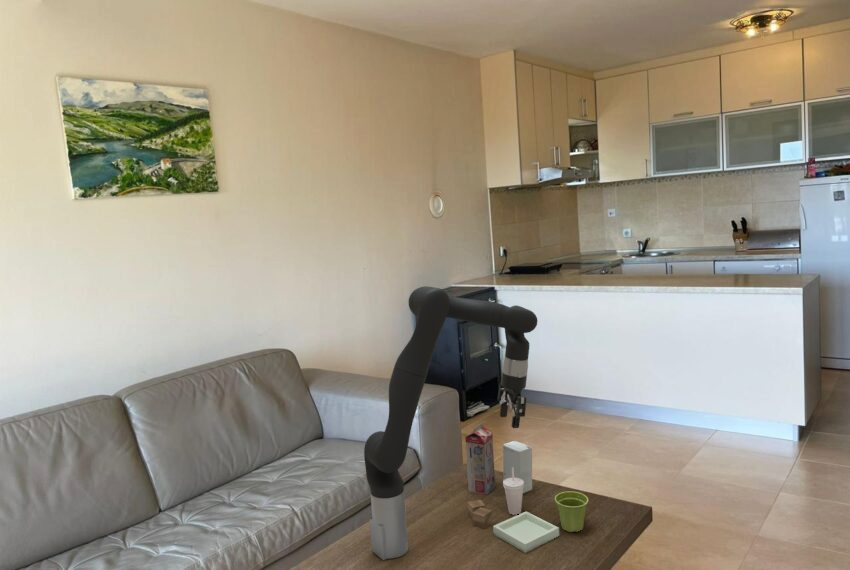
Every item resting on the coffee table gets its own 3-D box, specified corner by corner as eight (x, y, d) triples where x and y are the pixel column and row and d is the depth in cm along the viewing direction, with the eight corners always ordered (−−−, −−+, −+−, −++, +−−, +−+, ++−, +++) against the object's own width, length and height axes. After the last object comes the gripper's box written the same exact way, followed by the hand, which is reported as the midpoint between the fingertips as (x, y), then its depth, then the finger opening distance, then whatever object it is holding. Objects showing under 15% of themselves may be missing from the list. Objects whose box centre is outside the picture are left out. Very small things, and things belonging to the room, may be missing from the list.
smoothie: (524, 506, 195) (522, 463, 193) (526, 517, 189) (524, 472, 187) (504, 507, 196) (501, 464, 194) (504, 517, 189) (502, 472, 188)
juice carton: (495, 486, 210) (491, 422, 208) (486, 494, 205) (483, 429, 202) (477, 483, 214) (473, 420, 211) (468, 491, 208) (464, 427, 205)
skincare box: (503, 487, 209) (500, 444, 208) (516, 481, 213) (513, 439, 211) (521, 495, 203) (519, 451, 201) (534, 489, 206) (532, 445, 204)
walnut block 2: (484, 529, 183) (483, 516, 183) (473, 525, 186) (472, 512, 185) (492, 523, 186) (491, 510, 186) (481, 519, 189) (480, 507, 188)
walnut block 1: (473, 520, 189) (472, 507, 188) (468, 514, 193) (467, 502, 192) (485, 517, 190) (484, 505, 189) (481, 512, 194) (480, 499, 193)
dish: (525, 553, 169) (525, 544, 169) (493, 534, 180) (493, 526, 180) (559, 536, 177) (558, 527, 176) (526, 519, 187) (526, 511, 187)
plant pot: (595, 525, 181) (594, 496, 180) (578, 539, 174) (577, 509, 173) (566, 516, 188) (565, 488, 187) (549, 529, 181) (548, 500, 180)
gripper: (493, 364, 197) (488, 413, 200) (514, 379, 184) (508, 432, 187) (515, 364, 199) (509, 412, 202) (536, 379, 186) (530, 430, 189)
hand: (509, 422), depth 194 cm, fingers open, 8 cm apart
